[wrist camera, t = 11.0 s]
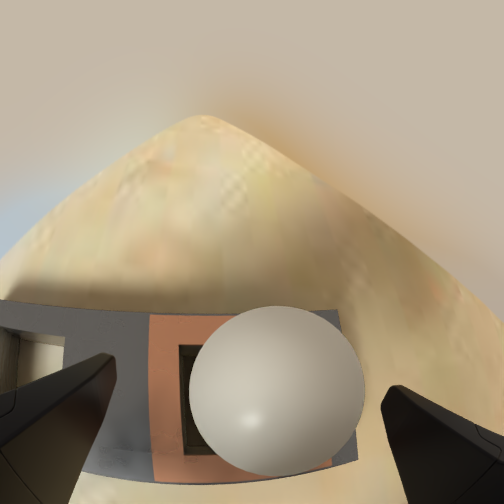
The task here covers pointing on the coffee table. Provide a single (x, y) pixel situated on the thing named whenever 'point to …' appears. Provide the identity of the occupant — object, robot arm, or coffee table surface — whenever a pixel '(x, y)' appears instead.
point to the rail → (138, 388)
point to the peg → (276, 391)
